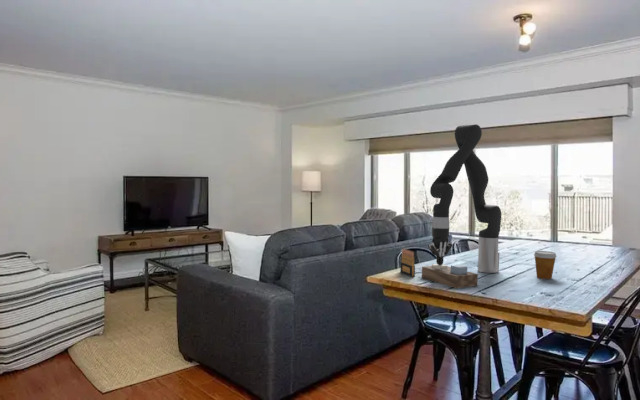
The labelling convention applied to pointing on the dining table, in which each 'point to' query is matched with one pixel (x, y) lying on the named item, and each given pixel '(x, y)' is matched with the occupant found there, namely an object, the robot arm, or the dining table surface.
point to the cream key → (439, 266)
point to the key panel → (450, 277)
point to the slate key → (458, 269)
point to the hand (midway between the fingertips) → (439, 264)
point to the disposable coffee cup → (544, 264)
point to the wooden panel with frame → (407, 263)
